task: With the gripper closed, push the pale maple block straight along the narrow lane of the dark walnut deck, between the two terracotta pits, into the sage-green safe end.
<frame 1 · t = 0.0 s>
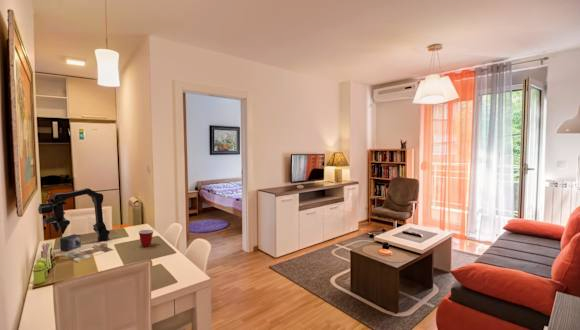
hand: (59, 233, 197), 15 cm above the table, fingers open, 9 cm apart
plastic cup: (146, 246, 213), on the table
small box: (70, 250, 203), on the table
maple block: (100, 248, 203), point 1 cm above the table, touching trap deck
trap deck: (89, 254, 197), on the table
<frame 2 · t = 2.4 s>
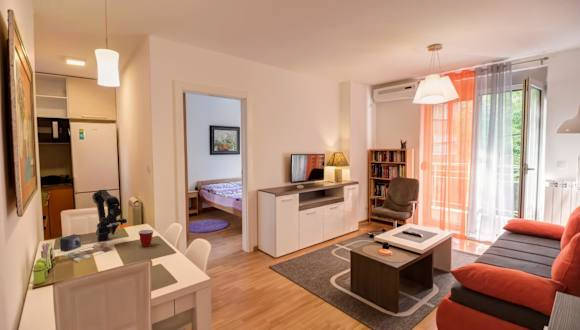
hand: (112, 234, 210), 10 cm above the table, fingers closed
nothing on the table moved.
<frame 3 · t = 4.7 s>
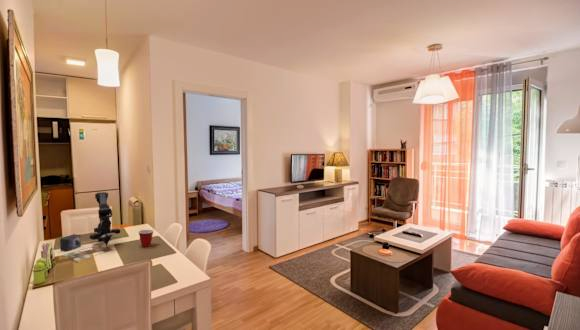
hand: (106, 245, 206), 3 cm above the table, fingers closed
maple block: (99, 249, 202), point 2 cm above the table, touching gripper
everything else where it was.
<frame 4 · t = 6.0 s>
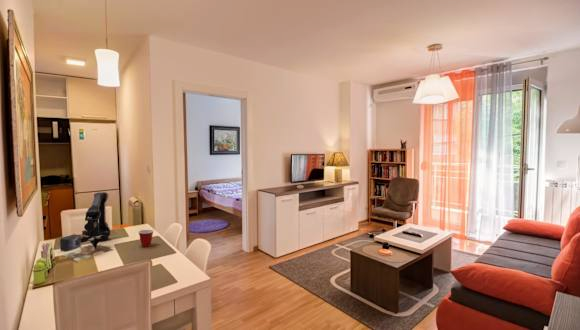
hand: (94, 248, 199), 3 cm above the table, fingers closed
maple block: (87, 252, 196), point 2 cm above the table, touching gripper, trap deck
everything else where it was.
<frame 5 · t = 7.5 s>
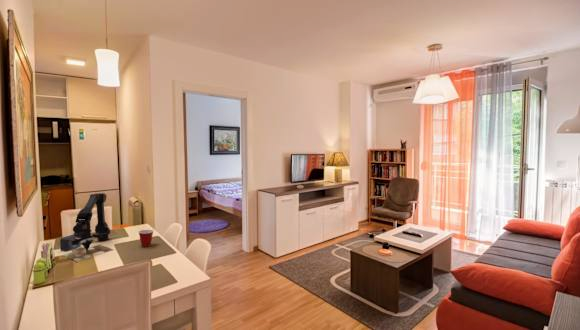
hand: (86, 250, 195), 3 cm above the table, fingers closed
maple block: (79, 255, 191), point 1 cm above the table, touching gripper, trap deck
everything else where it was.
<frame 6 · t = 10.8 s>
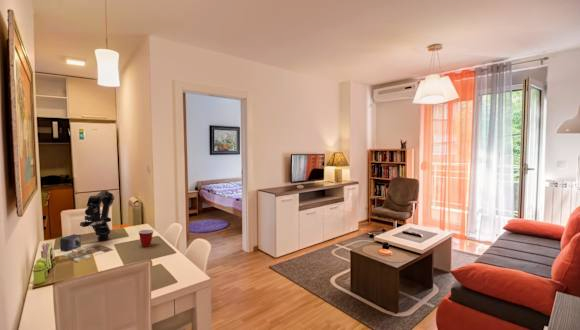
hand: (96, 233, 209), 11 cm above the table, fingers closed
maple block: (79, 255, 191), point 1 cm above the table, touching trap deck
everything else where it was.
at the end: maple block inside the target area (0.6 cm from its centre), point 1.5 cm above the table; maple block tilted 0°; the gripper is holding nothing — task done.
